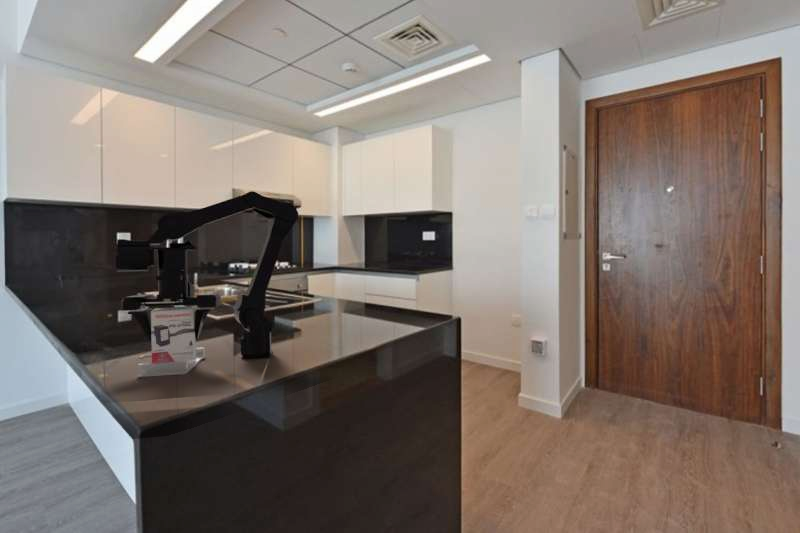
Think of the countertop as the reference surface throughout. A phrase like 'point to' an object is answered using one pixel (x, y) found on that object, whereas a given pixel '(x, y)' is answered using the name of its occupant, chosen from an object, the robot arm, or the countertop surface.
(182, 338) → the ink box
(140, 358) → the key
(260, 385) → the countertop surface
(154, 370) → the socket
